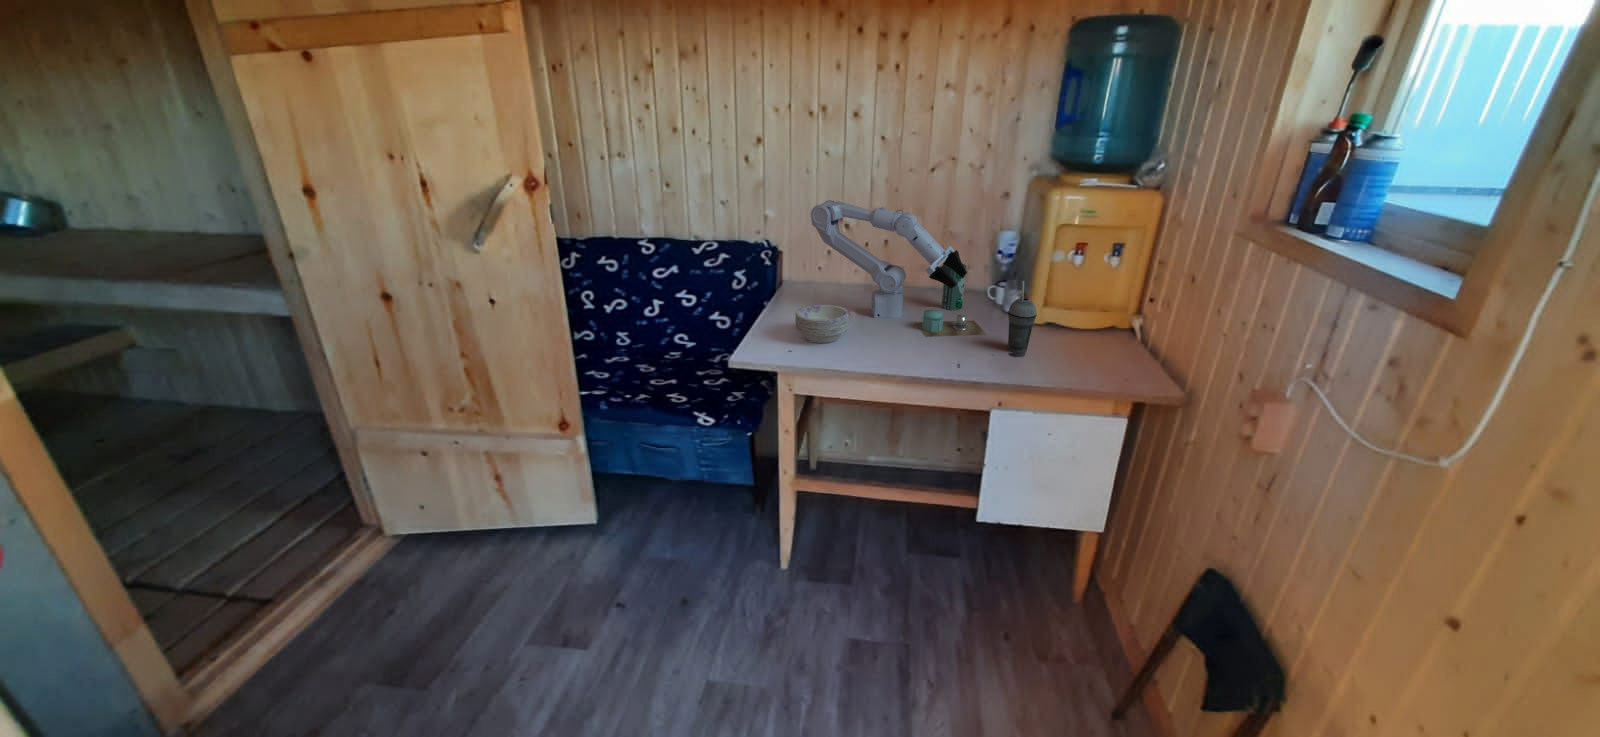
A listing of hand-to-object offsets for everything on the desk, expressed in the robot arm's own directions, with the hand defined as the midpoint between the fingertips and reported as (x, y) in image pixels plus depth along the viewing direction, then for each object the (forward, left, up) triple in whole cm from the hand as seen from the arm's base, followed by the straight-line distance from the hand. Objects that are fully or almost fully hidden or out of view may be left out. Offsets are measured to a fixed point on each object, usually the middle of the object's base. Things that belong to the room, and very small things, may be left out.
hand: (959, 280), depth 191 cm
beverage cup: (+10, -23, -14) cm, 29 cm away
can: (+3, +14, -14) cm, 20 cm away
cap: (-8, -5, -13) cm, 16 cm away
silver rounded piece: (0, -5, -13) cm, 14 cm away
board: (-3, -5, -14) cm, 15 cm away
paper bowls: (-41, -6, -14) cm, 44 cm away
